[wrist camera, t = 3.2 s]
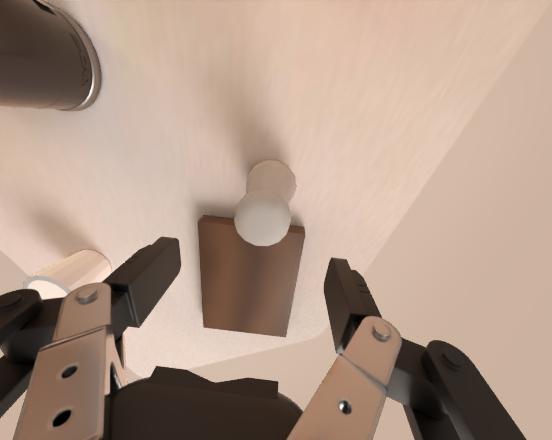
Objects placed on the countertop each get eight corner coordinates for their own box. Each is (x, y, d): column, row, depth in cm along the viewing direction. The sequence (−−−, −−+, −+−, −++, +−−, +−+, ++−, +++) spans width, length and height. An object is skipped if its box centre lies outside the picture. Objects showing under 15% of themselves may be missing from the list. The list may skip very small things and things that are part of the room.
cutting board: (207, 317, 38) (203, 327, 36) (203, 215, 30) (197, 221, 28) (285, 327, 38) (285, 337, 36) (304, 226, 30) (305, 233, 28)
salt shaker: (298, 197, 28) (307, 254, 16) (256, 205, 29) (234, 265, 17) (290, 151, 26) (293, 179, 14) (244, 161, 26) (209, 194, 14)
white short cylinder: (105, 245, 33) (61, 275, 26) (122, 280, 35) (85, 315, 29) (63, 246, 33) (10, 276, 27) (83, 282, 36) (39, 316, 30)
